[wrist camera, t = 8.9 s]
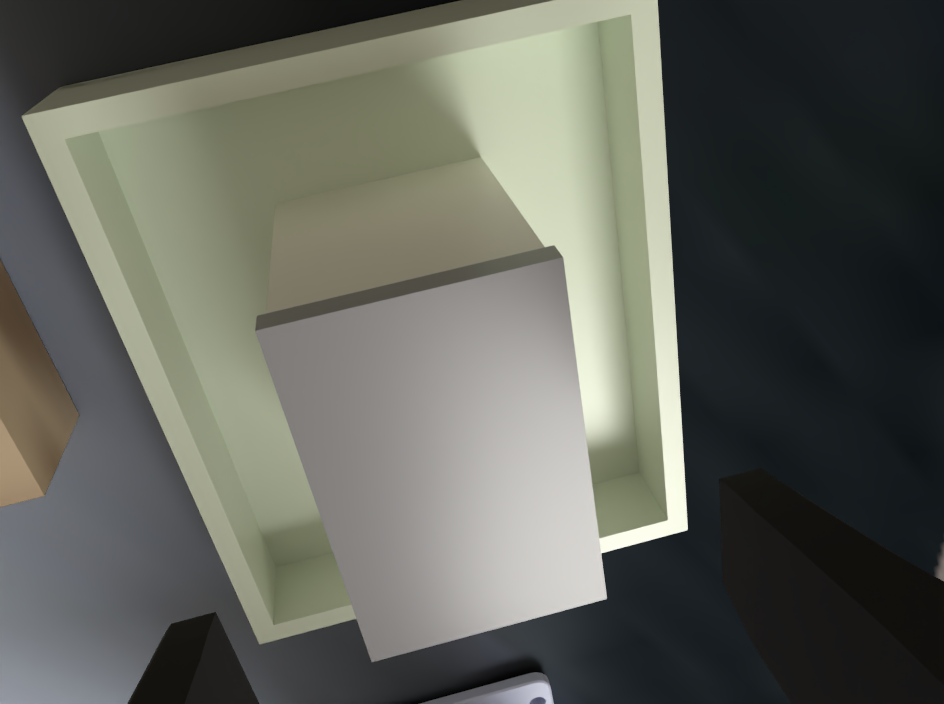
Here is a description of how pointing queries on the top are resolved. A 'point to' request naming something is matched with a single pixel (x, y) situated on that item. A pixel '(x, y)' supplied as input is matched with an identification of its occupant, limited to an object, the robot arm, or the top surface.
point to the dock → (28, 404)
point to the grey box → (434, 404)
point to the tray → (353, 163)
